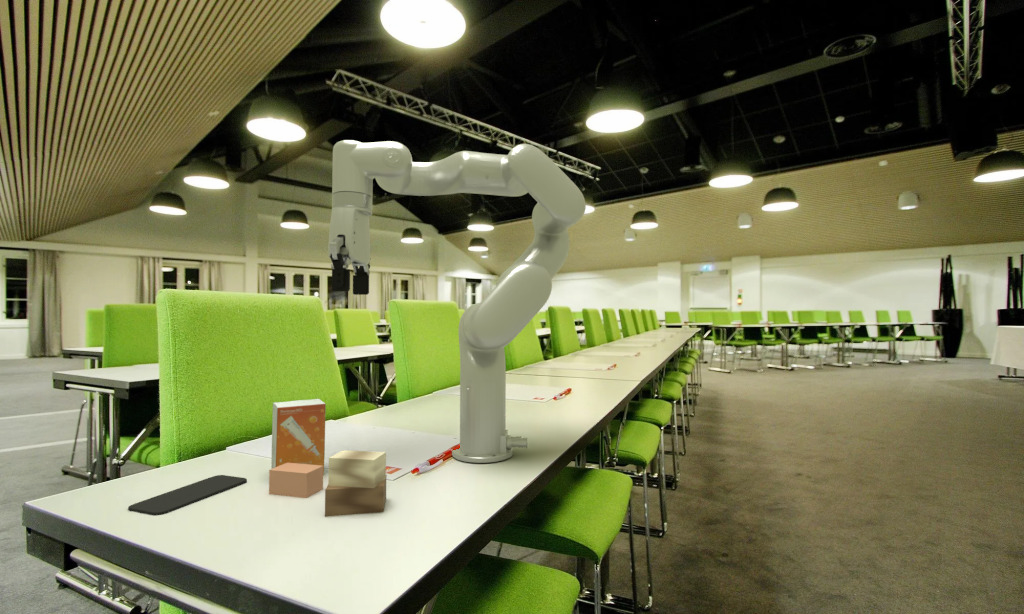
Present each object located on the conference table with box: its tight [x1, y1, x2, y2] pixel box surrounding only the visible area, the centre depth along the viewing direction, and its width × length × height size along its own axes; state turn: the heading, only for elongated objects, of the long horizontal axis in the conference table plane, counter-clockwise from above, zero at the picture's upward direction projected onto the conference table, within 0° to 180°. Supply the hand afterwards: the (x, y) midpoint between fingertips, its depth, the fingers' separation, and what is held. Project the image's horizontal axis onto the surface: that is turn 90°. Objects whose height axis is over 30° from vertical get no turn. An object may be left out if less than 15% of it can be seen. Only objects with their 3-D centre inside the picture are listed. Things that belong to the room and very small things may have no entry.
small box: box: [270, 398, 327, 476], centre depth 83 cm, size 8×6×13 cm
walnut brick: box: [324, 478, 387, 518], centre depth 68 cm, size 8×5×4 cm, turn 101°
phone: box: [127, 474, 248, 516], centre depth 73 cm, size 7×1×15 cm
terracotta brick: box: [268, 463, 324, 499], centre depth 74 cm, size 7×4×4 cm, turn 76°
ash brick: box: [327, 449, 387, 488], centre depth 68 cm, size 7×4×4 cm, turn 82°
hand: (351, 292), depth 89 cm, fingers open, 9 cm apart
